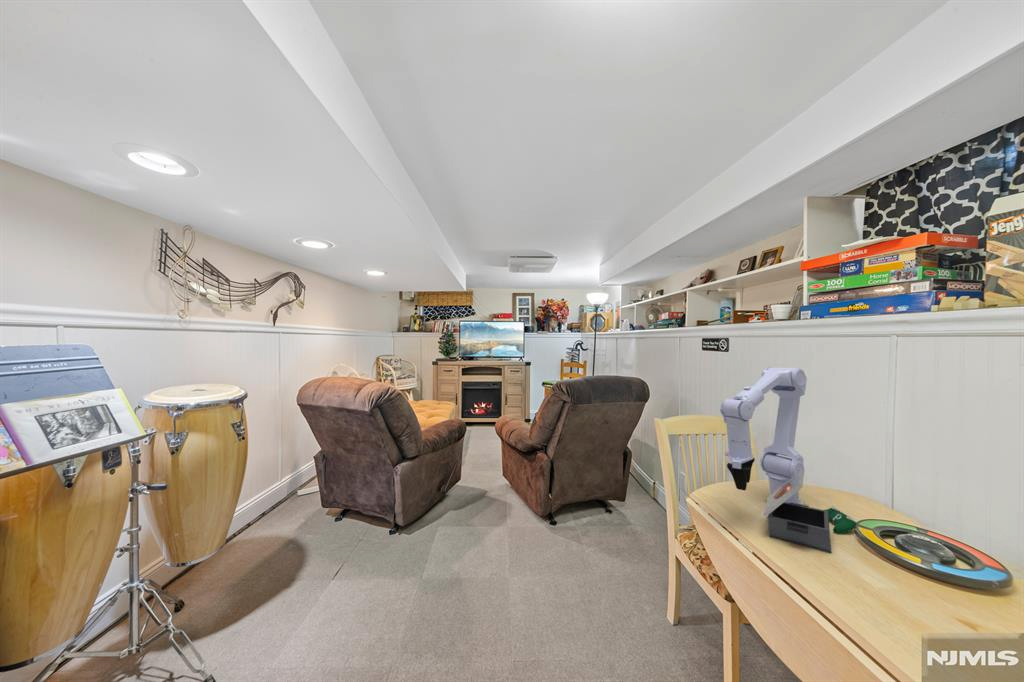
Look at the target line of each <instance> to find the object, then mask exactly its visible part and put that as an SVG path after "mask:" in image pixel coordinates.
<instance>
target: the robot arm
mask: <svg viewBox="0 0 1024 682" xmlns="http://www.w3.org/2000/svg"><path fill="white" fill-rule="evenodd" d="M807 380H808V378H807V376H806V373H805V371H803V369H802V368H800V367H772V366H771V367H770V366H767V367H765V368H764V369H763V370H762V371H761V377H760V378H759V380H757V381H756V383H754V385H752V386H751V385H750V386H747V385H746V386H744V387H743V389H742V390H741V391H740V392H737V394H736V395H734V396H733V397H732V398H726V399H725V400H724V401H722V403H721V405H720V409H719V411H720V413H721V416H722V417H723V422H724V424H725V425H726V435H727V437H726V438H727V446H728V448H727V449H728V451H724V452H723V453H724V456H727V457H729V459H730V461H731V462H728V463H727V464H726V467H727V469H728V471H729V473H730V474H731V476H732V478H733V482H734V484H735V487H736V489H737V490H741V491H746V490H747V486H748V484H749V483H750V480H751V472H752V467H753V464H754V463H755V462H756V461H755V458H754V456H753V453H752V441H751V430H750V429H751V428H750V420H751V419H752V417H753V415H754V412H755V409H756V408H757V406H759V405H760V404H761V403H762V402H763V401H764V400H765V396H764V395H765V394H767V393H769V392H770V391H771V392H772V393H774V394H776V395H777V396H778V397H779V400H778V409H777V415H776V421H775V429H774V434H773V436H774V437H773V443H772V444H771V445H768V446H766V447H764V448H763V453H762V455H761V457H760V460H759V464H760V467H761V470H762V471H764V472H765V475H766V476H767V477H768V485H769V495H771V494H772V493H773V492H774V491H776V490H777V489H778V488H779V487H780V486H782V485H783V484H784V483H785V482H786V481H788V480H789V479H790V478H791V477H792V476H794V475H795V474H796V473H797V472H798V471H800V470H802V471H804V472H805V467H804V457H803V456H802V455H801V454H800V453H799V452H798V451H797V450H796V449H795V448H794V447H795V441H796V440H795V439H796V432H797V426H798V420H799V419H798V417H799V410H800V409H799V408H800V402H801V397H803V396H804V395H805V394H806V393H805V392H806V387H807ZM799 491H800V490H799ZM799 491H797V492H796V493H795V494H794V495H792V496H791V497H790V498H789V499H787V500H786V501H785V502H786V503H790V502H791V503H796V504H801V505H803V499H802V500H801V499H800V492H799Z"/></svg>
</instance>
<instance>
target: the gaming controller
mask: <svg viewBox="0 0 1024 682" xmlns="http://www.w3.org/2000/svg"><path fill="white" fill-rule="evenodd" d="M824 510H825V511H828V517H829V522H832V523H833V524H834V525H835V526H834V527H833V528H832V531H833V533H835V534H839V535H840V534H845V533H847V532H850V531H853V530H854V529H856V527H857V525H858V523H857V521H856V520H855V519H854V518H853V517H852V516H850V515H847V514H845V513H844V512H842V511H841V510H839V509H838V508H837V507H835V506H834V505H831V507H830V508H827V509H824Z"/></svg>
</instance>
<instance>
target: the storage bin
mask: <svg viewBox="0 0 1024 682" xmlns="http://www.w3.org/2000/svg"><path fill="white" fill-rule="evenodd" d="M825 510H826V509H819V508H815V507H810V505H805V504H802V505H801V504H796V503H791V502H790V503H786V502H784V503H782V504H781V505H780V506H779V507H777V508H776V509H775V510H774V511H772V512H771V513H770V514H769V515H767V521H768V523H767V524H768V531H769V532H768V533H769V538H772V539H776V540H779V539H780V541H783V542H788V543H791V544H794V545H799V546H802V547H806V548H809V549H810V548H811V549H814V550H817V551H821V552H826V553H829V554H832V544H831V543H832V541H831V528H830V520H829V517H828V511H825Z"/></svg>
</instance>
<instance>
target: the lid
mask: <svg viewBox="0 0 1024 682" xmlns="http://www.w3.org/2000/svg"><path fill="white" fill-rule="evenodd" d="M804 475H805V470H804V471H802V470H800V471H798V472H797V473H796V474H795V475H794V476H792V477H791V478H790V479H789V480H788V481H786V482H785V483H784V484H783V485H782V486H780V487H779V488H778V489H777V490H776V491H774V492H773V493H772V494H771V495H770V494H769V495H768V496H767V500H766V504H765V507H764V509H763V515H764V516H765V517H768V515H769V514H770V513H771V512H772V511H774V510H775V509H776V508H777V507H779V506H780V505H781V504H782V503H784V502H785V501H786V500H787V499H789V498H790V497H791V496H792V495H794V494H795V493H796V492H797V491H800V490H801V489H802V488H803V487H804Z"/></svg>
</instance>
